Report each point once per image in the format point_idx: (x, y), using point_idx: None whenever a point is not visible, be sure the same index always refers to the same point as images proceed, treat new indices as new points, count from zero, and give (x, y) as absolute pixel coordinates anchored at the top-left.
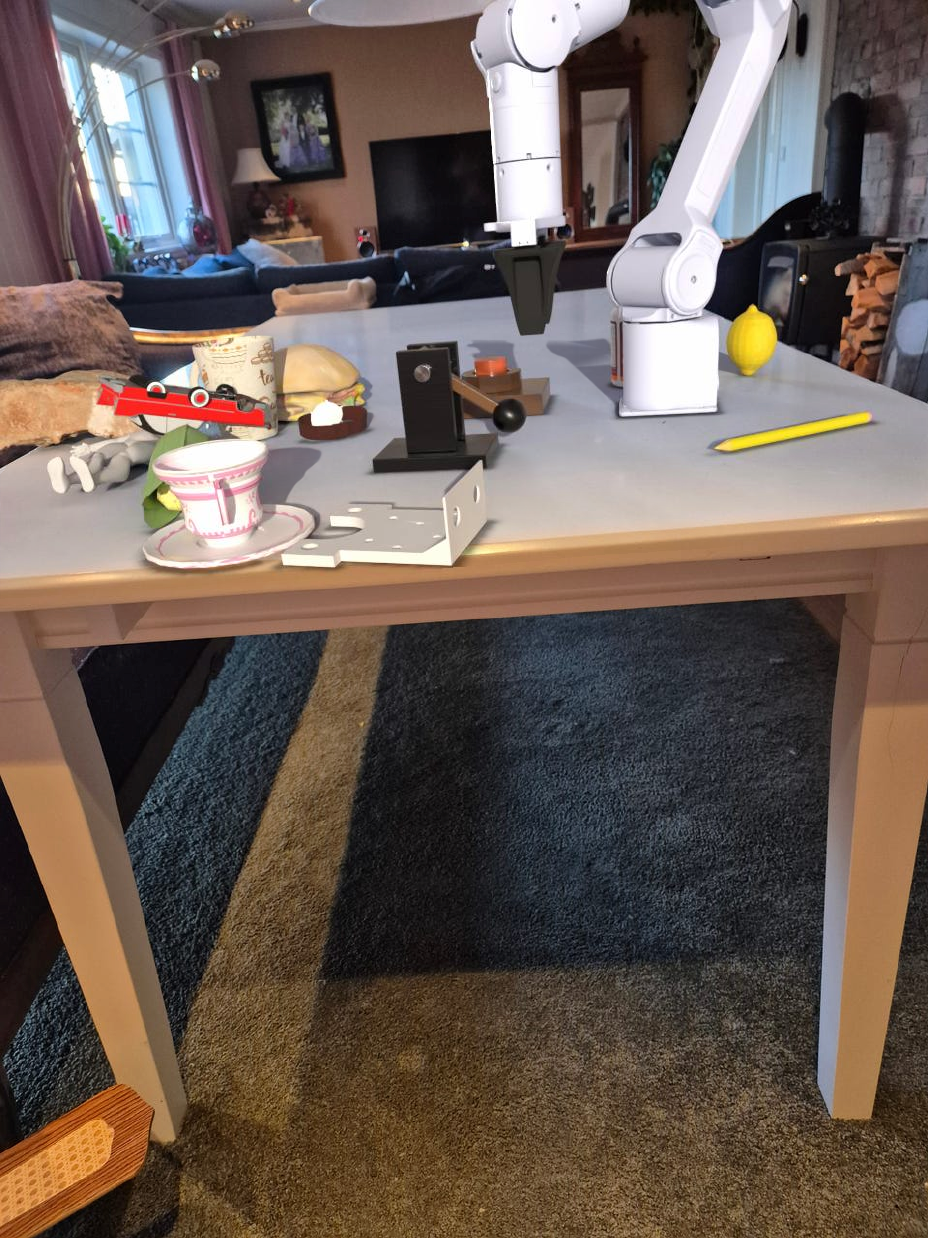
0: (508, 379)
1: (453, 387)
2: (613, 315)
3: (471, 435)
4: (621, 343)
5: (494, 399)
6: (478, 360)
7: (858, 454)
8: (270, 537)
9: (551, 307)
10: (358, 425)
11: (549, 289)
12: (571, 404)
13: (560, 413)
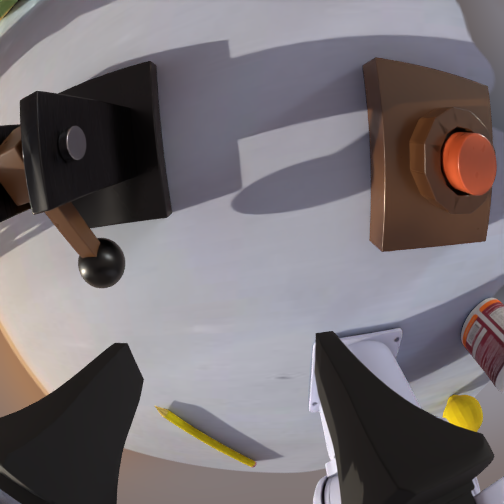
0: (429, 195)
1: None
2: None
3: (153, 180)
4: (497, 339)
5: (87, 252)
6: (470, 142)
7: (170, 449)
8: None
9: (321, 403)
10: None
11: (120, 453)
12: (419, 269)
13: (370, 263)
